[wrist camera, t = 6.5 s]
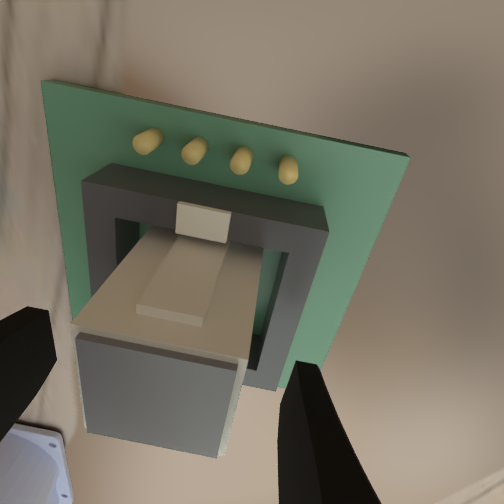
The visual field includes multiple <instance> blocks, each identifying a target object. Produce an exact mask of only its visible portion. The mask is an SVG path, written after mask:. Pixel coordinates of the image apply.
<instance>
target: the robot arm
mask: <svg viewBox="0 0 504 504" xmlns="http://www.w3.org/2000/svg"><path fill="white" fill-rule="evenodd" d="M56 361H57V357H56V351H55V345H54V339H53V334H52V328H51V322H50V316H49V311H48V310H43V309H38V308H33V307H28V306H27V307H25V308H23V309H21V310H19V311H17V312H15V313H13V314H12V315H10V316H8V317H6V318H4V319H2V320H0V504H59V503H61V504H72V503H73V501H74V493H73V488H72V483H71V478H70V473H69V468H68V463H67V458H66V454H65V448H64V444H63V439H62V436H61V434H60V433H58V432H55V431H51V430H46V429H41V428H36V427H31V426H26V425H21V424H16V423H15V422H16V421H17V420H18V418H19V417H20V416H21V414H22V413H23V412H24V411H25V409H26V408H27V407H28V405H29V404H30V403H31V401H32V400H33V398H34V397H35V396H36V394H37V393H38V391H39V390H40V388H41V386H42V385H43V383H44V382H45V380H46V378H47V377H48V375H49V373H50V371H51V370H52V368H53V366H54V364H55V363H56ZM277 442H278V443H277V444H278V486H279V504H381V502H380V500H379V498H378V497H377V495H376V493H375V491H374V489H373V487H372V486H371V483H370V482H369V480H368V478H367V476H366V474H365V472H364V470H363V468H362V466H361V464H360V462H359V460H358V458H357V456H356V454H355V452H354V450H353V448H352V445H351V443H350V441H349V439H348V437H347V435H346V432H345V430H344V428H343V426H342V424H341V421H340V419H339V417H338V415H337V412H336V410H335V407H334V405H333V403H332V400H331V398H330V395H329V393H328V390H327V388H326V385H325V382H324V380H323V377H322V374H321V372H320V369H319V367H318V365H317V364H312V363H307V362H302V361H297V360H296V361H295V364H294V367H293V370H292V373H291V375H290V378H289V381H288V384H287V387H286V390H285V393H284V395H283V398H282V401H281V403H280V413H279V426H278V440H277Z"/></svg>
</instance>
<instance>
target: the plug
mask: <svg viewBox="0 0 504 504" xmlns="http://www.w3.org/2000/svg"><path fill="white" fill-rule="evenodd" d="M263 250H264V248H261V247H256V246H251V245H246V244H242V243H237V242H232V241H227V242H226V243H221V242H216V241H211V240H206V239H202V238H197V237H192V236H187V235H182V234H177V233H175V230H174V229H169V228H164V227H159V226H154V225H152V226H151V227H150V228H149V229H148V230H147V232H146V233H145V234H144V235H143V237H142V238H141V239H140V240H139V241H138V243H137V244H136V245H135V246H134V247H133V249H132V250H131V251H130V252H129V253H128V255H127V256H126V257H125V258H124V259H123V261H122V262H121V263H120V264H119V265H118V267H117V268H116V269H115V270H114V271H113V273H112V274H111V275H110V276H109V277H108V279H107V280H106V281H105V282H104V283H103V285H102V286H101V287H100V288H99V289H98V291H97V292H96V293H95V294H94V295H93V297H92V298H91V299H90V300H89V301H88V303H87V304H86V305H85V306H84V307H83V309H82V310H81V311H80V312H79V313H78V315H77V316H76V317H75V318H74V319H73V321H72V322H71V323H70V326H71V334H72V341H73V348H74V355H75V363H76V370H77V377H78V384H79V392H80V399H81V406H82V414H83V421H84V428H87V432H88V433H93V434H99V435H103V436H108V437H113V438H118V439H123V440H128V441H133V442H138V443H143V444H148V445H153V446H158V447H163V448H168V449H172V450H178V451H182V452H188V453H192V454H198V455H202V456H207V457H212V458H217V455H220V456H224V454H225V450H226V447H227V442H228V439H229V435H230V430H231V427H232V423H233V419H234V415H235V411H236V407H237V403H238V399H239V395H240V391H241V387H242V383H243V379H244V375H245V371H246V368H247V364H248V359H249V352H250V345H251V337H252V330H253V323H254V316H255V308H256V301H257V294H258V286H259V279H260V272H261V264H262V257H263Z"/></svg>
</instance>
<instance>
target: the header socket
mask: <svg viewBox="0 0 504 504" xmlns="http://www.w3.org/2000/svg"><path fill="white" fill-rule="evenodd" d="M41 86H42V94H43V101H44V109H45V116H46V124H47V132H48V139H49V147H50V154H51V162H52V169H53V177H54V184H55V192H56V199H57V207H58V215H59V222H60V230H61V237H62V245H63V252H64V260H65V267H66V275H67V283H68V290H69V298H70V305H71V313H72V320H73V319H74V318H75V317H76V316H77V315H78V313H79V312H80V311H81V310H82V309H83V307H84V306H85V305H86V304H87V303H88V301H89V300H90V299H91V298H92V297H93V295H94V294H95V293H96V292H97V291H98V289H99V288H100V287H101V286H102V285H103V283H104V282H105V281H106V280H107V279H108V277H109V276H110V275H111V274H112V273H113V271H114V270H115V269H116V268H117V267H118V265H119V264H120V263H121V262H122V261H123V259H124V258H125V257H126V256H127V255H128V253H129V252H130V251H131V250H132V249H133V247H134V246H135V245H136V244H137V243H138V241H139V240H140V239H141V238H142V237H143V235H144V234H145V233H146V232H147V230H148V229H149V228H150V227H151V226H152V225H154V226H159V227H164V228H169V229H174V230H175V233H177V234H182V235H187V236H192V237H197V238H202V239H206V240H211V241H216V242H221V243H226V242H227V241H232V242H237V243H242V244H246V245H251V246H256V247H261V248H264V250H263V257H262V264H261V272H260V279H259V286H258V294H257V301H256V308H255V316H254V323H253V330H252V337H251V345H250V352H249V359H248V364H247V368H246V371H245V375H244V379H243V383H242V385H247V386H252V387H256V388H261V389H266V390H271V391H276V389H277V387H281V388H286V387H287V384H288V381H289V378H290V375H291V373H292V370H293V367H294V364H295V361H296V360H297V361H302V362H307V363H312V364H317V365H318V367H319V369H320V370H321V368H322V366H323V363H324V361H325V359H326V356H327V354H328V352H329V349H330V347H331V344H332V342H333V340H334V337H335V335H336V333H337V330H338V328H339V326H340V323H341V321H342V319H343V316H344V314H345V311H346V309H347V307H348V304H349V302H350V300H351V297H352V295H353V293H354V290H355V288H356V285H357V283H358V281H359V278H360V276H361V274H362V271H363V269H364V267H365V264H366V262H367V259H368V257H369V255H370V253H371V250H372V248H373V246H374V243H375V241H376V238H377V236H378V234H379V231H380V229H381V227H382V224H383V222H384V220H385V217H386V215H387V213H388V210H389V208H390V206H391V203H392V201H393V198H394V196H395V194H396V191H397V189H398V186H399V184H400V182H401V180H402V177H403V175H404V172H405V170H406V168H407V165H408V163H409V161H410V157H409V156H408V155H407V154H406V153H403V152H397V151H393V150H388V149H383V148H378V147H374V146H369V145H364V144H359V143H354V142H350V141H345V140H340V139H335V138H330V137H326V136H321V135H316V134H311V133H306V132H301V131H297V130H292V129H287V128H282V127H277V126H273V125H268V124H263V123H258V122H254V121H249V120H244V119H239V118H234V117H229V116H225V115H220V114H215V113H210V112H205V111H200V110H196V109H191V108H186V107H181V106H177V105H172V104H167V103H162V102H157V101H153V100H148V99H143V98H138V97H133V96H129V95H124V94H119V93H114V92H109V91H105V90H100V89H95V88H90V87H85V86H81V85H76V84H71V83H66V82H61V81H57V80H42V81H41Z"/></svg>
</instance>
